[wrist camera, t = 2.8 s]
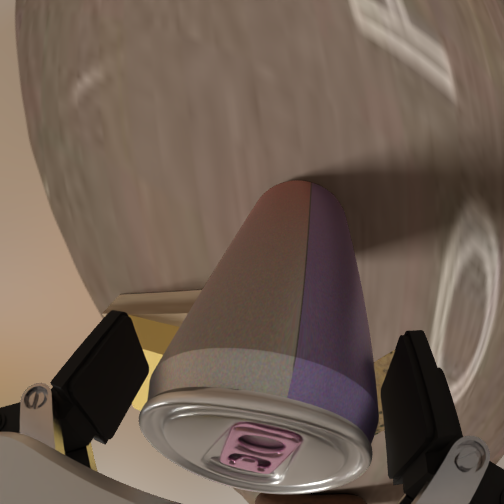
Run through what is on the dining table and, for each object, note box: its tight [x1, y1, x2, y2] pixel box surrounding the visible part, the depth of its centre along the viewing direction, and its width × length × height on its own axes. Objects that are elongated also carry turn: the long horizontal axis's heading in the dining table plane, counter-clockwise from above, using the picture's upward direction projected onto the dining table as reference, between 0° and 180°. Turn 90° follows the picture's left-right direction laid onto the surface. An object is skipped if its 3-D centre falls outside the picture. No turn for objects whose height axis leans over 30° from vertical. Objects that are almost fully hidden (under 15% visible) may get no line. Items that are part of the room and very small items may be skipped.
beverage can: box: [139, 180, 379, 494], centre depth 12 cm, size 6×6×15 cm
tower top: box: [128, 315, 179, 411], centre depth 22 cm, size 10×10×3 cm
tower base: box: [102, 290, 202, 327], centre depth 24 cm, size 12×12×3 cm
